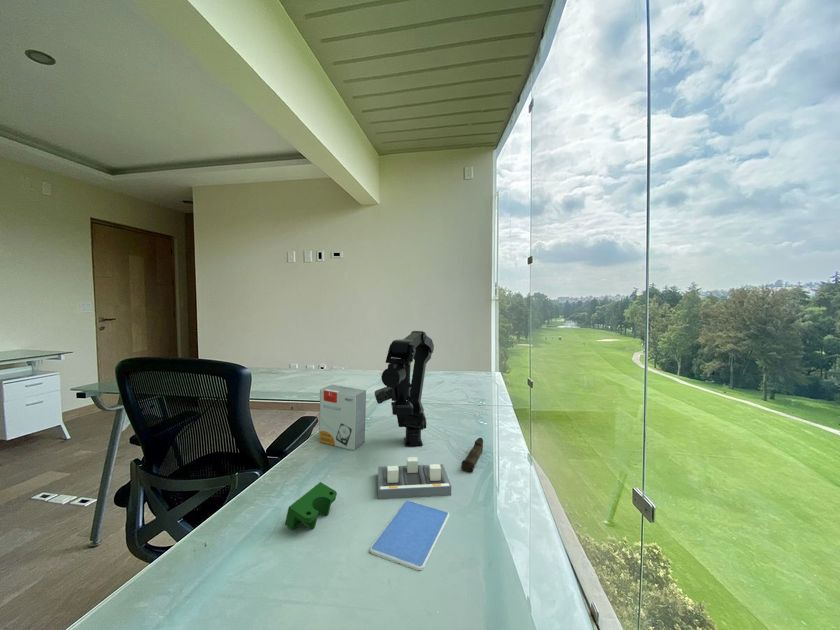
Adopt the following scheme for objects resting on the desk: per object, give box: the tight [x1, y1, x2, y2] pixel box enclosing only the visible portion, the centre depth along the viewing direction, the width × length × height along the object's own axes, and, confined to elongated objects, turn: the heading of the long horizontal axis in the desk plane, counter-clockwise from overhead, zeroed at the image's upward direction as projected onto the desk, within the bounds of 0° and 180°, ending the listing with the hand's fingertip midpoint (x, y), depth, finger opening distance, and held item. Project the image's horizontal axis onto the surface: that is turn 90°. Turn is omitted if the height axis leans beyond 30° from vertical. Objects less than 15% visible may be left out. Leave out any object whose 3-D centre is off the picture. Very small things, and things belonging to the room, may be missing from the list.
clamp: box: [284, 481, 338, 531], centre depth 81 cm, size 12×6×9 cm, turn 151°
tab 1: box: [387, 465, 399, 483], centre depth 93 cm, size 2×3×4 cm
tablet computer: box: [369, 500, 450, 571], centre depth 77 cm, size 19×13×1 cm, turn 158°
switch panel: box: [377, 463, 452, 500], centre depth 96 cm, size 12×20×3 cm, turn 97°
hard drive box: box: [318, 384, 367, 451], centre depth 122 cm, size 16×8×20 cm, turn 68°
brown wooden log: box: [460, 437, 484, 473], centre depth 112 cm, size 19×4×5 cm, turn 154°
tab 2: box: [406, 456, 419, 473], centre depth 99 cm, size 2×3×4 cm
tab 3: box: [428, 463, 441, 481], centre depth 95 cm, size 2×3×4 cm
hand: (400, 426), depth 108 cm, fingers closed
